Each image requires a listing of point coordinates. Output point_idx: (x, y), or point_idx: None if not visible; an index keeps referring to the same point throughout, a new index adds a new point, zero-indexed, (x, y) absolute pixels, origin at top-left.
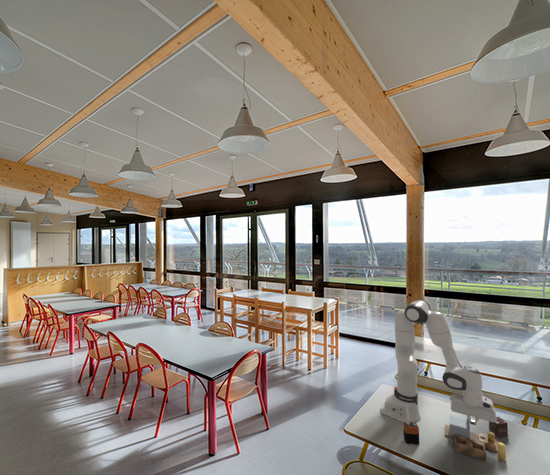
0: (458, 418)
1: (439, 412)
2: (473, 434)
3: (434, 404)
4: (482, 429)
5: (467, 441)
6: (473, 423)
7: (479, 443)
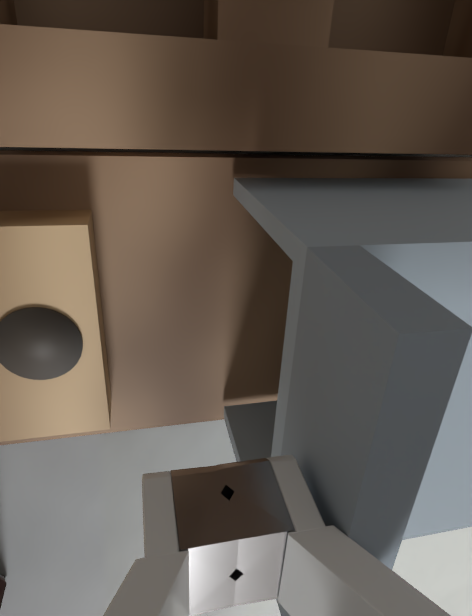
0: (437, 510)
1: (446, 542)
2: (173, 387)
3: (455, 607)
4: (74, 543)
5: (311, 6)
6: (216, 493)
7: (74, 71)
